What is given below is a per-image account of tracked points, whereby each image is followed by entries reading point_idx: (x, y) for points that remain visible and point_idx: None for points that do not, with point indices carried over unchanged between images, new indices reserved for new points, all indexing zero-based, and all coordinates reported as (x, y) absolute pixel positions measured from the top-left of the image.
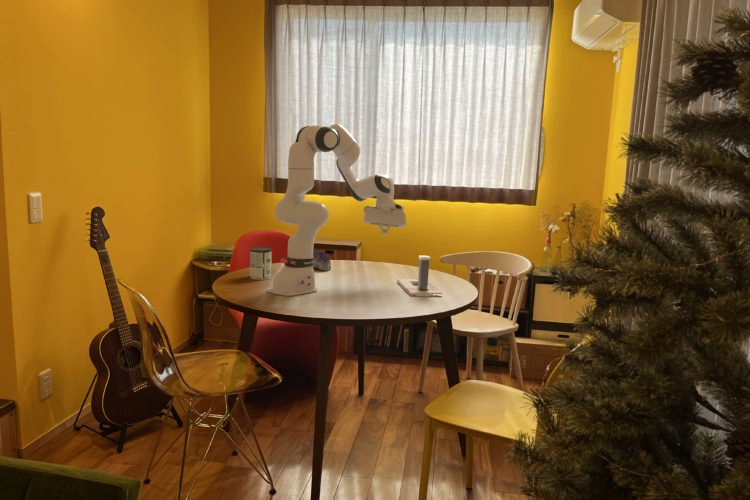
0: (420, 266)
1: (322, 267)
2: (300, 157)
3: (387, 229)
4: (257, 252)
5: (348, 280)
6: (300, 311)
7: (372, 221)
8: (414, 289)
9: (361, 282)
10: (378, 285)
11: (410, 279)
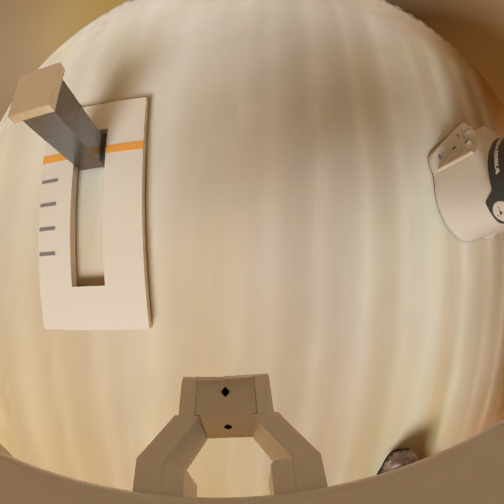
0: (70, 103)
1: (409, 454)
2: None
3: (188, 412)
4: None
5: (346, 335)
6: (411, 28)
7: (456, 446)
8: (119, 141)
9: (302, 307)
10: (237, 259)
11: (95, 323)
